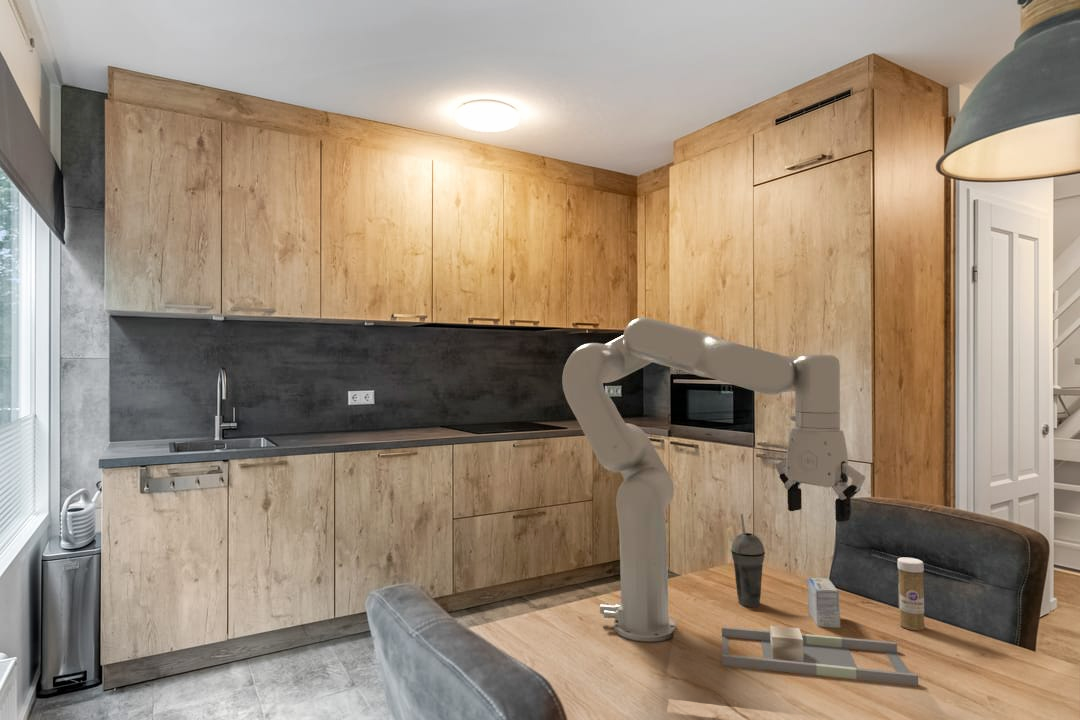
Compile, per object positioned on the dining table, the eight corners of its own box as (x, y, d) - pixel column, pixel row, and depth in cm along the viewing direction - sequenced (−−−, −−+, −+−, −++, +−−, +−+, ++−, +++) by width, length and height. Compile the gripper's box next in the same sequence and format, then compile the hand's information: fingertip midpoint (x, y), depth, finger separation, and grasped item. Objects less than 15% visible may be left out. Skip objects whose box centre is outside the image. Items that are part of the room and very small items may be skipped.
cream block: (772, 659, 109) (772, 636, 109) (770, 647, 114) (769, 625, 114) (803, 663, 108) (803, 639, 108) (799, 650, 113) (799, 628, 113)
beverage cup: (771, 609, 137) (768, 517, 137) (737, 609, 137) (735, 517, 137) (759, 597, 144) (757, 510, 144) (728, 597, 144) (726, 510, 144)
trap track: (722, 673, 108) (722, 655, 108) (722, 642, 120) (721, 626, 120) (918, 695, 100) (918, 676, 100) (896, 659, 112) (895, 642, 112)
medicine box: (841, 635, 123) (840, 591, 123) (816, 634, 123) (815, 589, 124) (830, 620, 130) (829, 578, 131) (808, 618, 131) (807, 577, 131)
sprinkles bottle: (905, 631, 124) (903, 562, 124) (895, 622, 129) (893, 556, 129) (929, 631, 124) (927, 563, 124) (918, 622, 128) (916, 556, 128)
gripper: (764, 419, 120) (765, 508, 120) (849, 426, 106) (850, 528, 105) (789, 418, 124) (790, 504, 124) (875, 424, 110) (875, 522, 109)
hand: (817, 515), depth 115 cm, fingers open, 9 cm apart
